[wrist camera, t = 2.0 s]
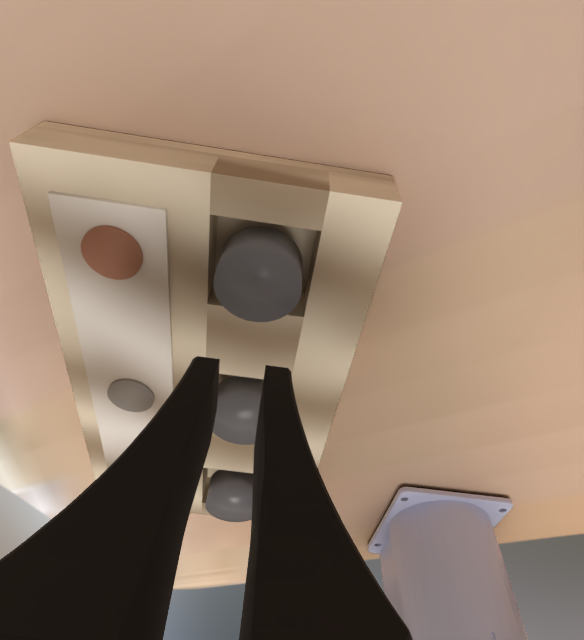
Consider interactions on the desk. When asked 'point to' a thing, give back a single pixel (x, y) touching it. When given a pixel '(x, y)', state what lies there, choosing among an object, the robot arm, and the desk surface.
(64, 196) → the button board
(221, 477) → the button
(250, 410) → the middle button
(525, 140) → the desk surface
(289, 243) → the button
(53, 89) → the desk surface
